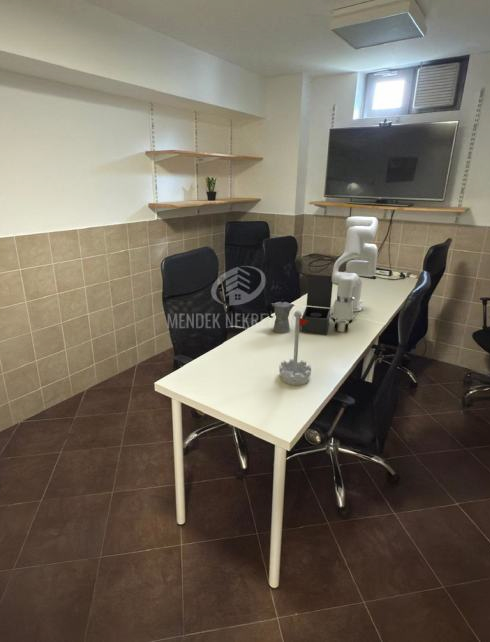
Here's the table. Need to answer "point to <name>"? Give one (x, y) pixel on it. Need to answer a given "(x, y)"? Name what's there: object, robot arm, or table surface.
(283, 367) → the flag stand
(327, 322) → the coffee maker
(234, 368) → the table surface
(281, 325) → the coffeepot
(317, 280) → the lid
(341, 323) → the cylinder
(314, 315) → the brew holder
